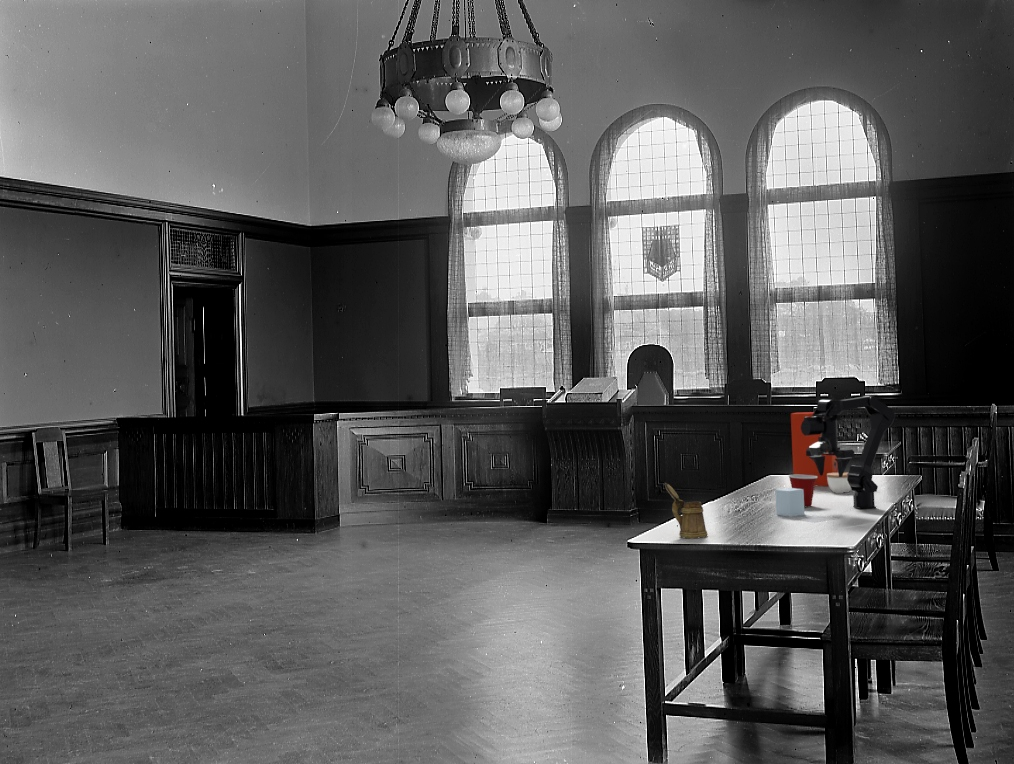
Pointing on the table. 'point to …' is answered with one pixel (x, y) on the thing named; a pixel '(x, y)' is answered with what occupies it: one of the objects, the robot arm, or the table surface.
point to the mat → (814, 518)
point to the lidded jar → (838, 482)
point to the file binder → (799, 447)
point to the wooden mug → (688, 516)
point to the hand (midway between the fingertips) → (830, 476)
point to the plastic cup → (804, 486)
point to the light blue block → (789, 502)
